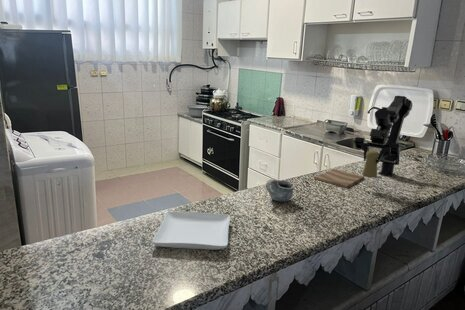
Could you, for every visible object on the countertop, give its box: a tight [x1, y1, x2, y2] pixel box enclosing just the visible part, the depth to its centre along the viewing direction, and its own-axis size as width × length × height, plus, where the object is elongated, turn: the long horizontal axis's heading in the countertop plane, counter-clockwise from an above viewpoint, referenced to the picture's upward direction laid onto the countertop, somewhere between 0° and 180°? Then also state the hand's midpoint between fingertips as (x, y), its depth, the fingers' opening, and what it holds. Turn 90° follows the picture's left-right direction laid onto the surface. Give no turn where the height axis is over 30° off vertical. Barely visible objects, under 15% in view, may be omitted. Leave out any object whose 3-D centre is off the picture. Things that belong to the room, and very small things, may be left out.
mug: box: [265, 177, 295, 203], centre depth 133 cm, size 10×12×10 cm
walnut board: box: [314, 168, 365, 189], centre depth 165 cm, size 20×16×1 cm
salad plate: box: [151, 211, 231, 250], centre depth 104 cm, size 21×21×3 cm
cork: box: [361, 150, 380, 179], centre depth 149 cm, size 6×6×11 cm
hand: (370, 161), depth 147 cm, fingers closed on cork, 5 cm apart
